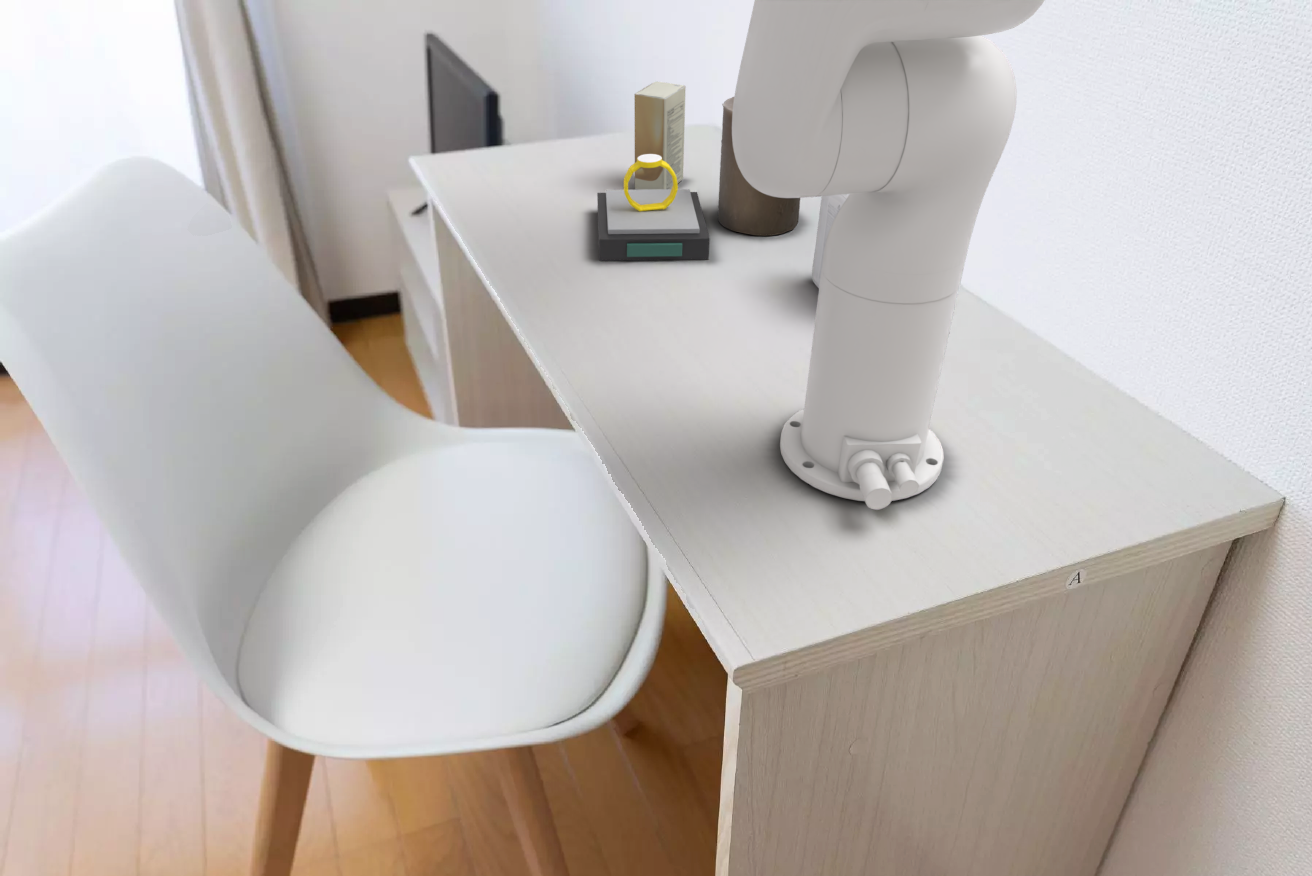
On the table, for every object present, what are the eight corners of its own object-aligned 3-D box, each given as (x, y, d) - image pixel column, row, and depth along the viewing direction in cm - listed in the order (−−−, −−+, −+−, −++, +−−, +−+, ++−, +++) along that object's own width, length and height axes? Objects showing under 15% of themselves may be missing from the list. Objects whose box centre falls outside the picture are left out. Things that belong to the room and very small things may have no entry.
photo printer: (888, 319, 95) (909, 198, 88) (849, 324, 94) (867, 203, 87) (842, 275, 103) (858, 162, 96) (805, 280, 102) (818, 165, 95)
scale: (709, 261, 106) (710, 234, 104) (599, 262, 105) (599, 235, 103) (696, 211, 118) (697, 186, 116) (597, 212, 117) (597, 187, 115)
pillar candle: (807, 234, 112) (822, 103, 104) (725, 238, 111) (733, 106, 102) (785, 203, 120) (797, 79, 112) (708, 207, 119) (715, 81, 110)
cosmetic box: (654, 174, 128) (656, 79, 121) (684, 180, 126) (687, 84, 119) (632, 190, 123) (632, 92, 116) (663, 196, 122) (665, 97, 115)
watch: (674, 203, 111) (676, 152, 108) (678, 212, 109) (679, 160, 106) (622, 205, 110) (622, 154, 107) (625, 214, 108) (625, 162, 105)
